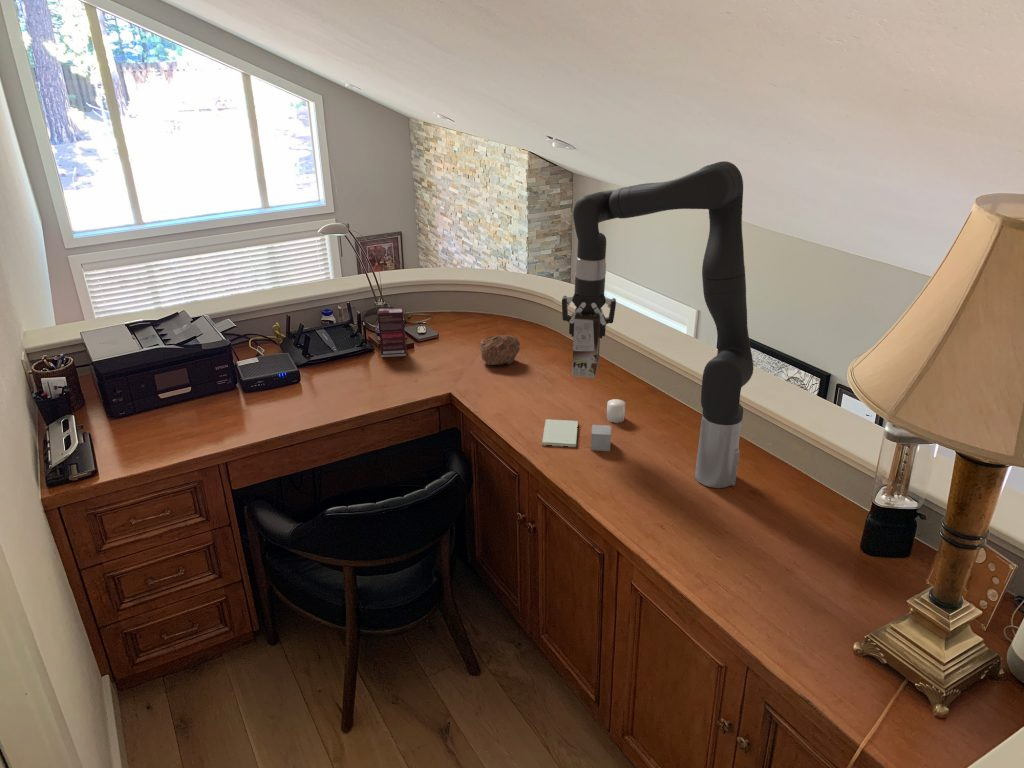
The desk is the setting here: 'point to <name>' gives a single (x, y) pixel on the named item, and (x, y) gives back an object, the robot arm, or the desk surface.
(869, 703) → the desk surface
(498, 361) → the decorative rock
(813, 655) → the desk surface
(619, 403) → the white rounded cylinder
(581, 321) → the coffee box
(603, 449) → the grey block
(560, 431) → the sage board
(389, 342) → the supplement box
